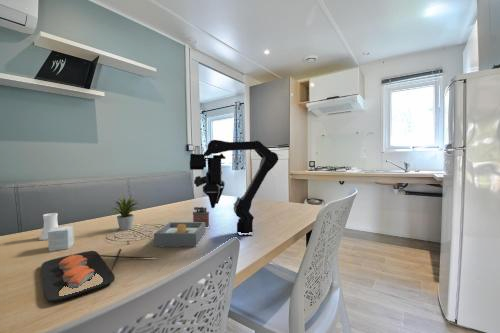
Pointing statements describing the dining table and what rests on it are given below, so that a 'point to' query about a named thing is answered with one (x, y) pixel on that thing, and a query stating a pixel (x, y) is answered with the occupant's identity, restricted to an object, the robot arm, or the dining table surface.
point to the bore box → (179, 234)
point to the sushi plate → (75, 273)
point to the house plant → (125, 213)
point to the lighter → (201, 215)
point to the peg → (181, 228)
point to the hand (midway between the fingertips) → (214, 205)
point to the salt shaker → (48, 224)
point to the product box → (60, 238)
